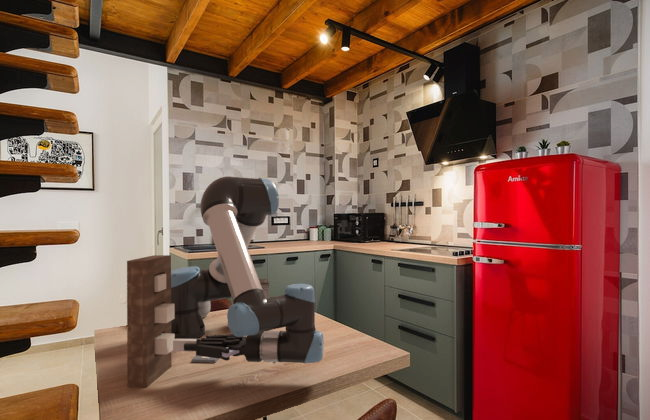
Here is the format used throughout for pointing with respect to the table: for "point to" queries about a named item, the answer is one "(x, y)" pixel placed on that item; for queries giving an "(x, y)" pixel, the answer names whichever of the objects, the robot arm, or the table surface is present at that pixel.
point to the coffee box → (265, 287)
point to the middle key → (164, 313)
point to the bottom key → (164, 343)
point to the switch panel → (146, 319)
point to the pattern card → (204, 359)
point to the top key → (159, 282)
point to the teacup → (205, 308)
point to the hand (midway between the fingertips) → (174, 344)
